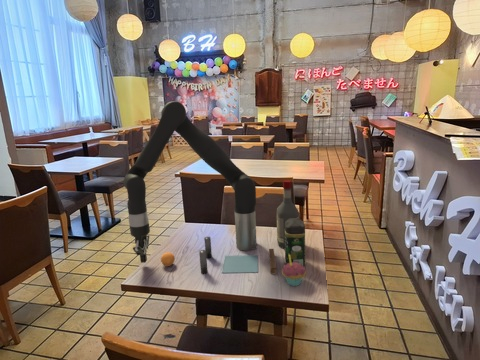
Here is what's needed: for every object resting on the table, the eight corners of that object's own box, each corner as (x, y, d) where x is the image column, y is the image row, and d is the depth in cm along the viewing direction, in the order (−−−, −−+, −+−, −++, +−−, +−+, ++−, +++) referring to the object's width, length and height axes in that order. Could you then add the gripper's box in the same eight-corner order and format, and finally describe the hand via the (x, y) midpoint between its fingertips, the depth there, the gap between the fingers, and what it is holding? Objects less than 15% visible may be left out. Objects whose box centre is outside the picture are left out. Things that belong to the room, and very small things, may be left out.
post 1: (208, 270, 126) (206, 249, 124) (207, 274, 123) (205, 253, 121) (201, 270, 126) (199, 250, 124) (200, 274, 123) (198, 253, 121)
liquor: (295, 239, 150) (295, 178, 143) (300, 248, 141) (299, 183, 134) (276, 240, 150) (275, 179, 142) (279, 249, 141) (278, 184, 134)
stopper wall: (273, 253, 137) (273, 248, 136) (276, 273, 121) (276, 267, 121) (269, 254, 137) (268, 248, 136) (270, 273, 122) (270, 267, 121)
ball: (176, 261, 134) (175, 249, 133) (173, 268, 129) (172, 256, 128) (163, 262, 134) (162, 250, 133) (160, 268, 129) (158, 256, 128)
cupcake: (291, 291, 110) (290, 259, 107) (277, 280, 117) (276, 250, 114) (310, 284, 114) (311, 253, 111) (296, 273, 121) (296, 244, 118)
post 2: (212, 255, 138) (210, 236, 136) (211, 258, 136) (210, 239, 133) (206, 255, 138) (204, 236, 136) (205, 258, 136) (203, 239, 134)
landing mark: (257, 255, 136) (257, 254, 136) (257, 272, 123) (257, 272, 123) (225, 256, 137) (225, 255, 137) (221, 273, 124) (221, 272, 124)
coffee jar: (284, 258, 133) (283, 216, 128) (303, 258, 132) (303, 216, 128) (285, 270, 123) (285, 225, 119) (306, 270, 123) (306, 225, 118)
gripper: (142, 228, 121) (147, 269, 125) (153, 216, 134) (157, 254, 138) (123, 229, 121) (129, 270, 126) (135, 217, 134) (140, 254, 138)
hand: (144, 261), depth 132 cm, fingers closed
